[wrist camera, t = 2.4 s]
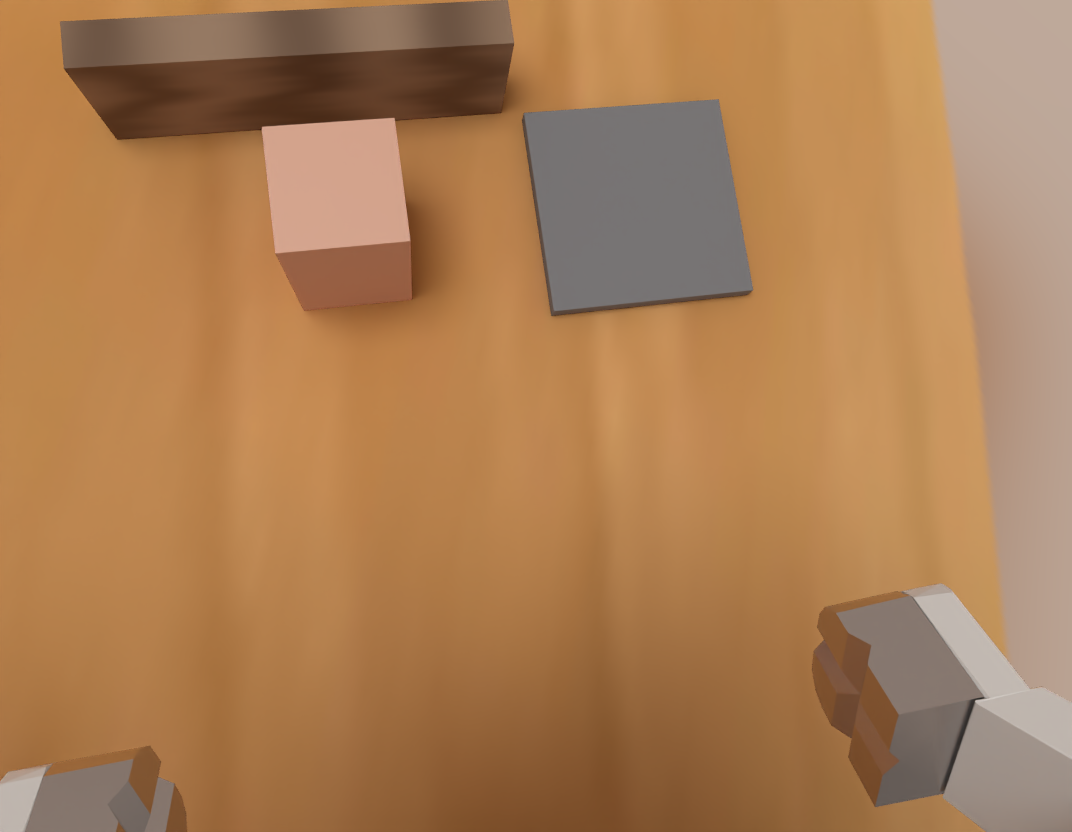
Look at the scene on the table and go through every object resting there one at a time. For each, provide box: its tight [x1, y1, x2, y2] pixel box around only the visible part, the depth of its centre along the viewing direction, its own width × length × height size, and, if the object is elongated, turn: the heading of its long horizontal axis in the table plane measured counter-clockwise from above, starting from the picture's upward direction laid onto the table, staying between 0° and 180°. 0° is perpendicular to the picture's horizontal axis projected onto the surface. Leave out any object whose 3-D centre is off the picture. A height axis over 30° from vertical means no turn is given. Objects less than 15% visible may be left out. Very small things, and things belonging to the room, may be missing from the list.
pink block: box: [262, 118, 412, 311], centre depth 36 cm, size 5×5×8 cm
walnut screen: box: [60, 0, 514, 139], centre depth 38 cm, size 18×2×6 cm, turn 98°
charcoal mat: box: [522, 99, 753, 316], centre depth 42 cm, size 10×10×1 cm
